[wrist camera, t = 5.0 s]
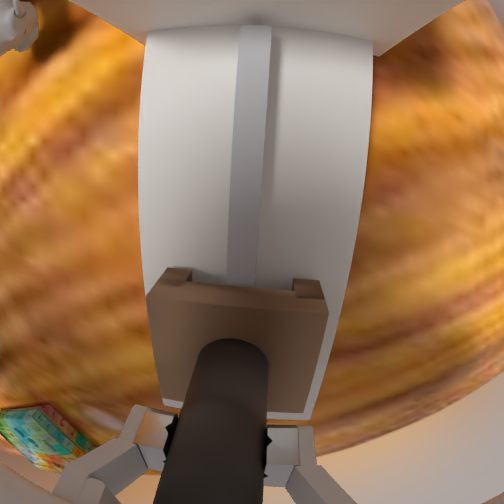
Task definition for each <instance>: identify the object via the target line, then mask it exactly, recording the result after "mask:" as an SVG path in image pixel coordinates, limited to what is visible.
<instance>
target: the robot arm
mask: <svg viewBox="0 0 504 504" xmlns="http://www.w3.org/2000/svg"><path fill="white" fill-rule="evenodd" d="M177 422H178V415H177V414H176V413H171V412H166V411H162V410H157V409H153V408H149V407H145V406H141V405H137V404H135V405H134V406H133V407H132V409H131V411H130V413H129V415H128V418H127V420H126V422H125V424H124V426H123V428H122V431H121V433H120V435H119V437H118V438H113V439H111V440H109V441H108V442H106V443H104V444H102V445H101V446H99V447H97V448H96V449H94V450H92V451H90V452H89V453H87V454H85V455H83V456H81V457H80V458H78V459H76V460H74V461H72V462H71V463H69V464H67V465H66V466H65V467H64V469H63V471H62V473H61V475H60V477H59V480H58V481H57V484H56V485H55V488H54V490H53V492H52V493H51V492H49V491H47V490H46V489H44V488H42V487H40V486H38V485H37V484H35V483H33V482H32V481H30V480H28V479H27V478H25V477H24V476H22V475H20V474H19V473H17V472H16V471H14V470H13V469H11V468H10V467H8V466H7V465H5V464H4V463H3V462H1V461H0V504H121V503H120V501H118V499H117V498H116V497H115V495H117V494H118V493H119V492H121V491H122V490H123V489H125V488H126V487H127V486H128V485H130V484H131V483H132V482H133V481H135V480H136V479H137V478H138V477H140V476H141V475H142V474H143V473H145V472H146V471H147V470H148V469H152V470H157V471H161V472H162V471H163V468H164V464H165V461H166V458H167V454H168V451H169V448H170V444H171V441H172V438H173V435H174V431H175V428H176V425H177ZM147 468H148V469H147ZM263 486H273V487H286V490H287V491H288V493H289V494H290V496H291V497H292V499H293V500H294V502H295V503H296V504H357V503H356V502H355V501H354V500H353V499H352V498H351V497H350V496H349V495H348V494H347V493H346V492H345V491H344V490H343V489H342V488H341V487H340V486H339V484H337V482H336V481H335V480H334V479H333V478H332V477H331V476H330V475H329V474H328V473H327V472H326V470H325V469H324V468H323V467H322V466H318V465H317V463H316V451H315V440H314V430H313V427H312V426H296V425H267V428H266V441H265V462H264V485H263ZM482 504H504V492H503V493H502V494H500V495H498V496H496V497H494V498H492V499H490V500H488V501H487V502H484V503H482Z"/></svg>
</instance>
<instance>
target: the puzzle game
mask: <svg viewBox="0 0 504 504" xmlns="http://www.w3.org/2000/svg"><path fill="white" fill-rule="evenodd" d="M0 434H1V435H2V436H3V437H4V438H5V439H6V440H7V441H8V442H9V443H10V444H11V445H12V446H13V447H14V448H15V449H16V450H18V451H19V452H20V453H21V454H22V455H23V456H24V457H25V458H26V459H28V460H29V461H30V462H31V463H32V464H34V465H35V466H36V467H37V468H41V469H44V470H48V471H52V472H55V473H60V474H61V473H62V471H63V469H64V467H65V466H66V465H67V464H69V463H71V462H72V461H74V460H76V459H78V458H80V457H81V456H83V455H85V454H87V453H89V452H90V451H92V450H94V449H96V447H95V446H94V445H92V444H91V443H90V442H89V441H88V440H87V439H85V438H84V437H83V436H82V435H81V434H80V433H79V432H78V431H77V430H76V429H74V428H73V427H72V426H71V425H70V424H69V423H68V422H67V421H66V420H65V419H64V418H63V417H62V416H61V415H60V414H59V413H58V412H57V411H56V410H55V409H54V408H53V407H52V406H51V405H44V406H36V407H27V408H18V409H7V410H0Z"/></svg>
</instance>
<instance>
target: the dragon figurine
mask: <svg viewBox="0 0 504 504" xmlns="http://www.w3.org/2000/svg"><path fill="white" fill-rule="evenodd" d="M25 31H26V32H25ZM24 32H25V33H24ZM38 37H39V24H38V13H37V10H36V9H35V7H34V6H33V5H32V4H31V3H30V2H22V1H19V0H0V56H2V55H3V54H5V53H6V52H7V51H10V50H11V49H13V48H14V49H15V51H19V52H23V51H26V50H28V49H29V48H30V47H31V46H32V45H33V44H34V42H35V41H36V40H37V39H38Z"/></svg>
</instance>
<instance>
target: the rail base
mask: <svg viewBox="0 0 504 504" xmlns="http://www.w3.org/2000/svg"><path fill="white" fill-rule="evenodd" d="M68 1H70V2H72V3H74V4H76V5H78V6H80V7H82V8H83V9H85V10H87V11H89V12H91V13H92V14H94V15H96V16H98V17H99V18H101V19H103V20H105V21H106V22H108V23H110V24H111V25H113V26H115V27H116V28H118V29H120V30H121V31H123V32H125V33H126V34H128V35H129V36H131V37H132V38H134V39H136V40H137V41H139V42H140V43H142V44H143V45H146V48H145V56H144V65H143V75H142V86H141V99H140V115H139V140H138V199H139V225H140V242H141V256H142V268H143V278H144V288H145V297H146V295H147V294H148V292H149V291H150V290H151V288H152V287H153V286H154V284H155V283H156V282H157V280H158V279H159V278H160V276H161V275H162V274H163V273H164V271H165V270H166V269H167V267H170V268H180V269H191V270H192V282H198V283H208V284H218V285H229V286H240V287H252V288H264V289H277V290H290V291H291V290H292V283H293V278H297V279H311V280H319V281H320V285H321V288H322V291H323V294H324V298H325V301H326V304H327V308H328V311H329V316H328V320H327V325H326V329H325V334H324V338H323V342H322V346H321V350H320V354H319V358H318V362H317V366H316V370H315V373H314V377H313V381H312V384H311V388H310V392H309V395H308V398H307V402H306V405H305V409H304V412H303V413H281V412H267V419H282V420H310V418H311V415H312V412H313V409H314V406H315V403H316V400H317V397H318V393H319V390H320V387H321V384H322V380H323V377H324V374H325V370H326V367H327V363H328V360H329V356H330V353H331V349H332V345H333V341H334V338H335V334H336V330H337V326H338V322H339V318H340V314H341V309H342V305H343V301H344V296H345V292H346V287H347V283H348V278H349V273H350V268H351V263H352V258H353V252H354V247H355V241H356V236H357V230H358V224H359V217H360V211H361V204H362V197H363V189H364V182H365V173H366V165H367V155H368V145H369V133H370V120H371V104H372V81H373V55H374V56H378V57H380V56H381V55H382V54H384V53H385V52H387V51H388V50H389V49H391V48H392V47H394V46H395V45H396V44H398V43H399V42H401V41H402V40H404V39H405V38H407V37H408V36H410V35H411V34H413V33H414V32H415V31H417V30H418V29H420V28H422V27H423V26H425V25H426V24H428V23H429V22H431V21H432V20H434V19H435V18H437V17H439V16H440V15H442V14H443V13H445V12H447V11H448V10H450V9H452V8H453V7H455V6H457V5H458V4H460V3H462V2H463V1H465V0H68ZM146 305H147V304H146ZM147 313H148V312H147ZM148 321H149V319H148ZM149 328H150V326H149ZM150 334H151V333H150ZM151 341H152V340H151ZM152 347H153V346H152ZM153 353H154V352H153ZM154 359H155V358H154ZM155 365H156V364H155ZM156 370H157V369H156ZM158 381H159V380H158ZM159 386H160V385H159ZM162 400H163V404H164V405H165V406H170V407H175V408H181V409H182V406H183V402H180V401H175V400H169V399H164V398H162Z"/></svg>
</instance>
